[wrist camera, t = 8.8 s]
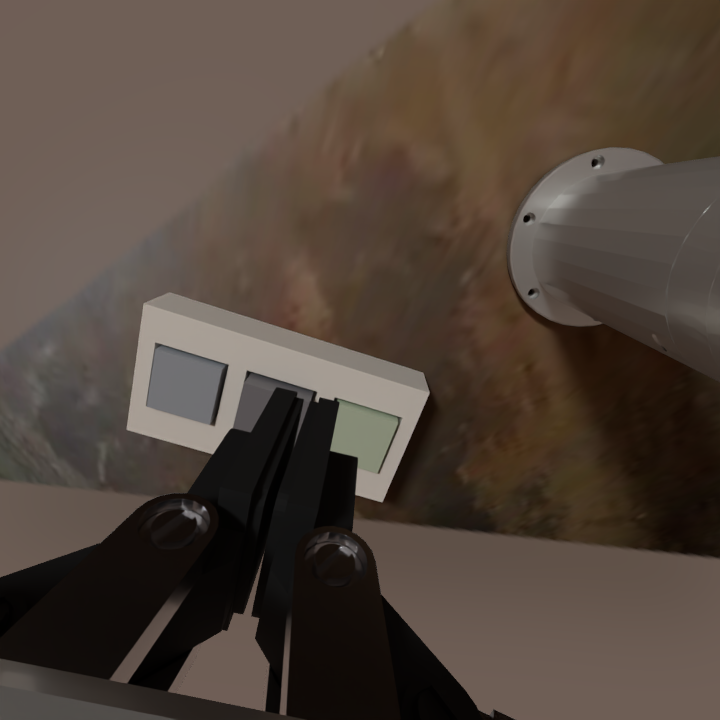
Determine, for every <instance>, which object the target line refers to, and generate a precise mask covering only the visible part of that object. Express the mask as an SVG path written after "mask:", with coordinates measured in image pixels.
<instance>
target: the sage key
mask: <svg viewBox="0 0 720 720" xmlns="http://www.w3.org/2000/svg"><path fill="white" fill-rule="evenodd" d="M335 401H338V402H340V404H339V409H338V414H337V419H336V424H335V429H334V434H333V439H332V444H331V449H330V451H333V452H337V453H342V454H346V455H350V456H355V457H358V467H357V468H360V469H363V470H367V471H370V472H374V473H378V471H379V468H380V466H381V463H382V461H383V459H384V456H385V454H386V451H387V449H388V447H389V444H390V442H391V439H392V437H393V435H394V432H395V430H396V427H397V425H398V417H397V416H395V415H392V414H389V413H385V412H382V411H379V410H375V409H372V408H369V407H366V406H362V405H359V404H356V403H352V402H349V401H346V400H343V399H339V398H336V400H335Z"/></svg>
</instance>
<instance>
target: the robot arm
mask: <svg viewBox="0 0 720 720" xmlns="http://www.w3.org/2000/svg"><path fill="white" fill-rule="evenodd" d="M592 160H594V162H595V163H594V166H593V167H592V165H591V163H592ZM525 215H527V216H528V220H527V222H523V218H524V216H525ZM507 263H508V270H509V274H510V277H511V281H512V283H513V285H514V287H515V289H516V291H517V293H518V295H519V296H520V297H521V298H522V299H523V301H524V302H525V303H526V304H527V305H528V306H529V307H530V308H532V309H533V310H534V311H535V312H537V313H538V314H540V315H541V316H543V317H545V318H547V319H548V320H551V321H554V322H556V323H559V324H562V325H569V326H576V327H583V326H596V325H600V324H605V325H607V326H609V327H611V328H613V329H615V330H617V331H619V332H621V333H623V334H625V335H627V336H629V337H631V338H633V339H635V340H637V341H639V342H641V343H643V344H645V345H647V346H649V347H651V348H653V349H655V350H657V351H659V352H661V353H663V354H665V355H667V356H669V357H671V358H673V359H675V360H677V361H679V362H681V363H683V364H685V365H687V366H689V367H691V368H693V369H695V370H697V371H699V372H701V373H703V374H705V375H707V376H709V377H711V378H713V379H715V380H717V381H719V382H720V156H719V157H712V158H705V159H698V160H691V161H684V162H677V163H670V164H664V163H663V162H661V161H660V160H659V159H657V158H655V157H653V156H651V155H649V154H648V153H646V152H642V151H638V150H634V149H631V148H605V149H600V150H594V151H590V152H587V153H583V154H580V155H577V156H575V157H573V158H571V159H569V160H567V161H565V162H563V163H561V164H559V165H558V166H557V167H555V168H554V169H552V170H551V171H550V172H548V173H547V174H545V175H544V176H543V177H542V178H541V179H540V180H539V181H538V182H537V183H536V184H535V185H534V186H533V187H532V189H531V190H530V192H529V193H528V194H527V196H526V197H525V199H524V200H523V201H522V203H521V205H520V207H519V209H518V211H517V213H516V215H515V217H514V219H513V222H512V225H511V229H510V232H509V236H508V244H507ZM530 289H532V290H533V291H532V293H531V294H528V292H529V291H530ZM303 403H304V399H302V398H297V392H296V391H292V390H287V389H283V388H279V387H276V389H275V390H274V392H273V394H272V396H271V397H270V399H269V401H268V403H267V405H266V406H265V408H264V410H263V412H262V413H261V415H260V417H259V419H258V421H257V422H256V424H255V426H254V428H253V429H252V431H251V432H247V431H243V430H239V429H234V428H231V429H230V430H229V431H228V433H227V434H226V436H225V437H224V439H223V440H222V442H221V443H220V445H219V446H218V448H217V449H216V451H215V452H214V454H213V455H212V457H211V458H210V460H209V461H208V463H207V464H206V466H205V467H204V469H203V470H202V472H201V473H200V475H199V476H198V478H197V479H196V481H195V482H194V484H193V485H192V487H191V488H190V490H189V491H188V493H171V494H166V495H161V496H158V497H156V498H154V499H151V500H149V501H147V502H146V503H144V504H143V505H141V506H140V507H139V508H137V509H136V510H135V511H134V512H133V513H132V514H131V515H130V516H129V517H128V518H127V519H126V520H124V521H123V522H122V523H121V524H120V525H119V526H118V527H117V528H116V529H115V530H114V531H113V532H112V533H111V534H110V535H109V536H107V538H105V539H104V540H103V541H102V542H101V543H99V544H96V545H93V546H90V547H87V548H84V549H81V550H79V551H76V552H73V553H70V554H67V555H64V556H61V557H58V558H55V559H53V560H49V561H47V562H44V563H41V564H38V565H35V566H32V567H29V568H26V569H23V570H21V571H18V572H15V573H12V574H9V575H6V576H3V577H1V578H0V720H515V719H513V718H511V717H509V716H507V715H505V714H502V713H500V712H498V711H496V710H493V711H492V712H491V714H490V715H488V714H486V713H483V712H481V711H479V710H478V709H477V707H476V705H475V703H474V702H473V701H472V699H471V698H470V696H469V695H468V694H467V692H466V691H465V689H464V688H463V687H462V686H461V685H460V684H459V683H458V682H457V680H456V679H455V678H454V677H453V676H452V675H451V673H450V672H449V671H448V670H447V669H446V668H445V667H444V665H443V664H442V663H441V662H440V661H439V660H438V659H437V658H436V656H435V655H434V654H433V653H432V652H431V651H430V650H429V649H428V647H427V646H426V645H425V644H424V643H423V642H422V640H421V639H420V638H419V637H418V636H417V635H416V634H415V632H414V631H413V630H412V629H411V628H410V627H409V626H408V624H407V623H406V622H405V621H404V620H403V619H402V618H401V616H400V615H399V614H398V613H397V612H396V611H395V610H394V608H393V607H392V606H391V605H390V604H389V603H388V602H387V601H386V599H385V598H384V597H383V596H382V595H381V591H380V585H379V579H378V573H377V566H376V561H375V558H374V555H373V552H372V550H371V549H370V547H369V546H368V545H367V543H366V542H365V541H364V540H363V539H362V538H361V537H359V536H358V535H357V534H355V533H353V532H352V528H353V516H354V504H355V492H356V480H357V467H358V457H355V456H350V455H346V454H342V453H337V452H333V451H330V449H331V444H332V439H333V434H334V429H335V424H336V419H337V414H338V409H339V404H340V402H338V401H333V400H329V399H325V398H321V397H320V398H319V401H318V402H314V401H310V403H309V406H308V408H307V411H306V414H305V417H304V420H303V423H302V426H301V428H300V431H299V434H298V437H297V440H296V435H297V431H298V426H299V421H300V417H301V412H302V408H303ZM295 440H296V443H295ZM294 445H295V446H294ZM264 551H265V552H264ZM263 554H264V557H263V562H262V567H261V571H260V577H259V581H258V586H257V591H256V595H255V600H254V605H253V611H252V616H253V617H258V618H259V623H258V627H257V632H256V637H255V639H256V641H257V643H258V644H259V646H260V648H261V650H262V651H263V653H264V655H265V657H266V658H267V660H268V666H267V670H266V677H265V686H264V696H263V706H262V711H260V710H255V709H250V708H245V707H240V706H235V705H231V704H226V703H221V702H216V701H211V700H206V699H201V698H196V697H191V696H186V695H181V694H176V693H177V691H178V689H179V687H180V685H181V684H182V682H183V680H184V678H185V677H186V675H187V673H188V671H189V670H190V668H191V666H192V664H193V662H194V661H195V659H196V657H197V654H198V651H199V649H200V646H201V643H202V642H204V641H205V640H207V639H209V638H211V637H212V636H214V635H216V634H217V633H219V632H221V631H222V630H226V631H227V630H228V627H229V624H230V621H231V619H232V615H233V613H238V614H243V613H244V611H245V608H246V605H247V602H248V599H249V596H250V593H251V590H252V587H253V584H254V581H255V578H256V574H257V572H258V569H259V566H260V563H261V559H262V556H263Z"/></svg>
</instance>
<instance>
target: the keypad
mask: <svg viewBox="0 0 720 720" xmlns="http://www.w3.org/2000/svg"><path fill="white" fill-rule="evenodd" d="M161 345H166V346H169V347H172V348H175V349H179V350H182V351H185V352H189V353H192V354H195V355H198V356H202V357H205V358H208V359H212V360H215V361H218V362H221V363H225V364H228V365H229V366H228V371H227V375H226V380H225V384H224V388H223V393H222V397H221V402H220V406H219V411H218V414H217V416H216V417H215V419H214V420H213V421H212V423H211V424H210V425H208V424H205V423H201V422H198V421H194V420H191V419H187V418H184V417H181V416H177V415H174V414H170V413H167V412H163V411H160V410H156V409H153V408H150V407H147V402H148V395H149V388H150V382H151V375H152V369H153V362H154V356H155V349H157V348H158V347H160V346H161ZM252 372H254V373H257V374H261V375H264V376H267V377H271V378H274V379H277V380H280V381H284V382H287V383H290V384H293V385H297V386H300V387H303V388H307V389H310V390H313V391H314V392H313V395H312V398H311V401H314V402H318V401H319V398H320V397H321V398H325V399H329V400H333V401H335V400H336V398H339V399H343V400H346V401H349V402H352V403H356V404H359V405H362V406H366V407H369V408H372V409H375V410H379V411H382V412H385V413H389V414H392V415H395V416H397V417H398V425H397V427H396V430H395V432H394V435H393V437H392V439H391V442H390V444H389V447H388V449H387V451H386V454H385V456H384V459H383V461H382V463H381V466H380V468H379V471H378V473H374V472H370V471H367V470H363V469H360V468H357V480H356V492H355V495H358V496H362V497H365V498H369V499H372V500H376V501H379V502H383V500H384V497H385V495H386V493H387V490H388V488H389V486H390V484H391V481H392V479H393V477H394V474H395V472H396V470H397V467H398V465H399V463H400V460H401V458H402V456H403V454H404V451H405V449H406V447H407V444H408V442H409V440H410V437H411V435H412V433H413V430H414V428H415V426H416V424H417V421H418V419H419V417H420V414H421V412H422V410H423V407H424V405H425V403H426V400H427V398H428V396H429V394H430V392H429V389H428V386H427V383H426V379H425V376H424V373H422V372H419V371H416V370H413V369H410V368H407V367H403V366H400V365H397V364H394V363H391V362H388V361H385V360H381V359H378V358H375V357H372V356H369V355H366V354H362V353H359V352H356V351H353V350H350V349H347V348H344V347H340V346H337V345H334V344H331V343H328V342H325V341H321V340H318V339H315V338H312V337H309V336H306V335H303V334H299V333H296V332H293V331H290V330H287V329H284V328H280V327H277V326H274V325H271V324H268V323H265V322H262V321H258V320H255V319H252V318H249V317H246V316H243V315H240V314H236V313H233V312H230V311H227V310H224V309H221V308H217V307H214V306H211V305H208V304H205V303H202V302H199V301H195V300H192V299H189V298H186V297H183V296H180V295H176V294H173V293H170V292H169V293H167V294H165V295H162V296H160V297H158V298H155V299H153V300H151V301H148V302H146V303H144V305H143V313H142V320H141V327H140V335H139V342H138V350H137V357H136V364H135V372H134V379H133V387H132V394H131V401H130V409H129V416H128V424H127V430H129V431H133V432H136V433H140V434H143V435H147V436H151V437H154V438H158V439H161V440H165V441H168V442H172V443H175V444H179V445H182V446H186V447H189V448H193V449H196V450H200V451H203V452H207V453H210V454H214V452H215V451H216V449H217V448H218V446H219V445H220V443H221V442H222V440H223V439H224V437H225V436H226V434H227V433H228V431H229V430H230V429H231V428H233V426H234V422H235V418H236V414H237V410H238V406H239V402H240V398H241V393H242V389H243V385H244V382H245V381H246V380H247V378H248V377H249V375H250V374H251V373H252Z"/></svg>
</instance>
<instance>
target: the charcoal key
mask: <svg viewBox="0 0 720 720" xmlns="http://www.w3.org/2000/svg"><path fill="white" fill-rule="evenodd" d="M276 387H279V388H283V389H287V390H292V391H296V392H297V398H302V399H304V403H303V408H302V412H301V417H300V421H299V426H298V431H297V435H296V440H297V437H298V434H299V431H300V428H301V426H302V423H303V420H304V417H305V414H306V411H307V408H308V406H309V403H310V401H311V398H312V395H313V392H314V391H313V390H310V389H307V388H303V387H300V386H297V385H293V384H290V383H287V382H284V381H280V380H277V379H274V378H271V377H267V376H264V375H261V374H257V373H254V372H252V373H251V374H250V375H249V377H248V378H247V380H246V381H245V382H244V385H243V389H242V393H241V398H240V402H239V406H238V410H237V414H236V418H235V422H234V426H233V428H234V429H239V430H243V431H247V432H251V431H252V429H253V428H254V426H255V424H256V422H257V421H258V419H259V417H260V415H261V413H262V412H263V410H264V408H265V406H266V405H267V403H268V401H269V399H270V397H271V396H272V394H273V392H274V390H275V389H276ZM296 440H295V443H296ZM294 446H295V445H294Z"/></svg>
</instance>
